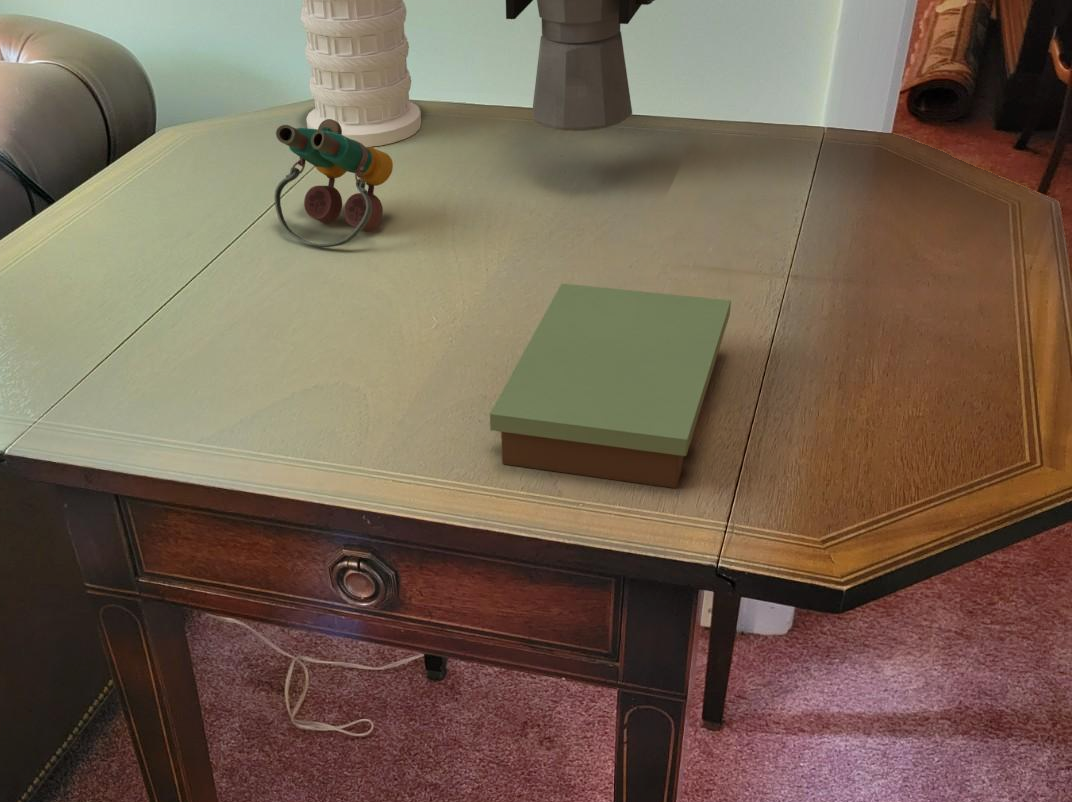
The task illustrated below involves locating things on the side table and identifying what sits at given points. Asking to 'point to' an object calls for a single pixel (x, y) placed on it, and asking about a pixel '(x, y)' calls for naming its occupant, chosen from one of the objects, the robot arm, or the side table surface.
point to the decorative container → (360, 69)
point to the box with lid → (611, 384)
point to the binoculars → (335, 176)
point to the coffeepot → (580, 66)
